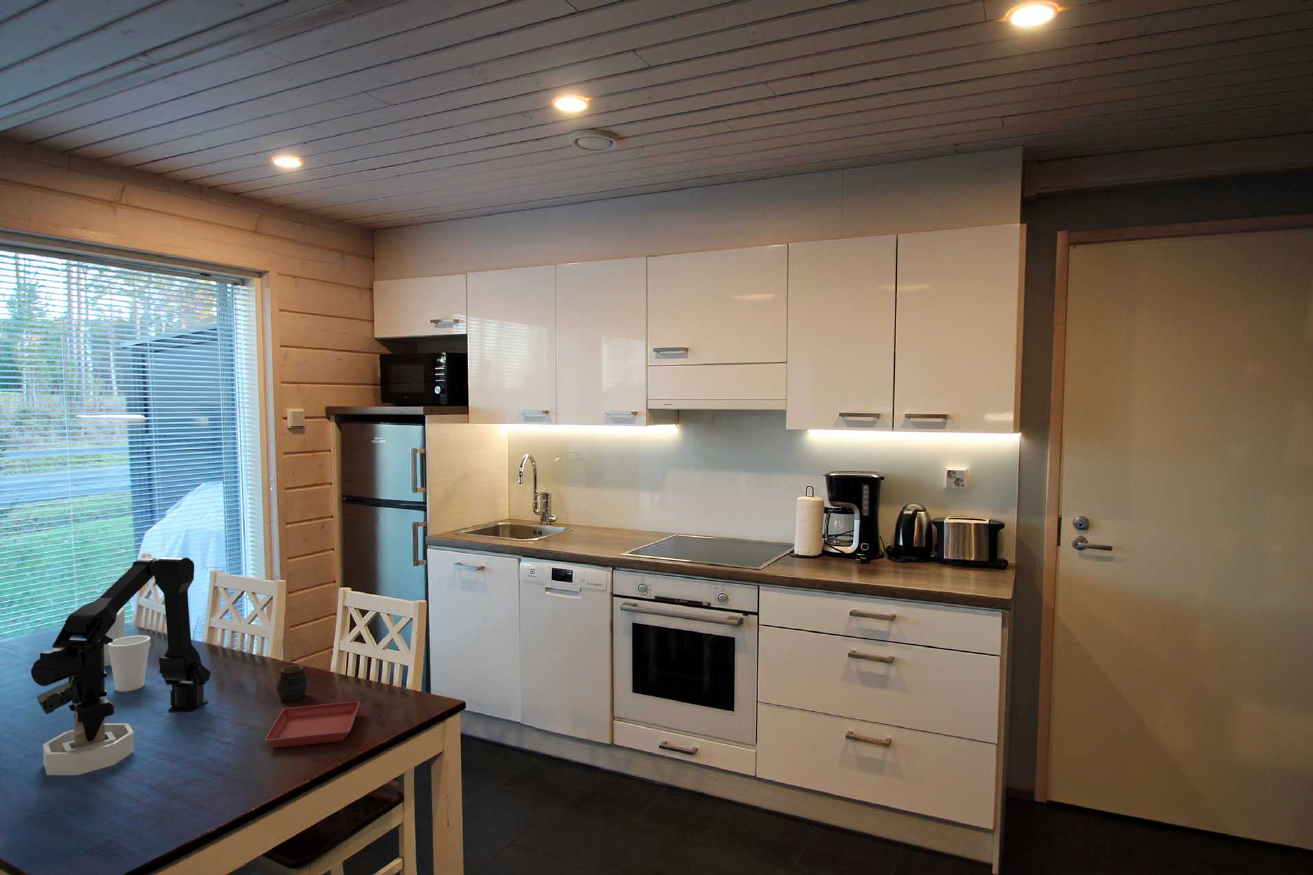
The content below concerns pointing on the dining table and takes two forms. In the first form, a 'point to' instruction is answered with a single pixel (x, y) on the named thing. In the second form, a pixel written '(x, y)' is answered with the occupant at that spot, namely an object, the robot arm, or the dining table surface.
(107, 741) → the octagonal boat dish
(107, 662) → the skincare box
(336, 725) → the plant saucer
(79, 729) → the wood grain block
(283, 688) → the mate gourd
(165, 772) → the dining table surface
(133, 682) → the foam cup
